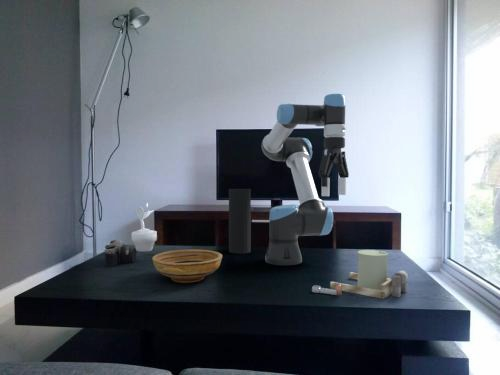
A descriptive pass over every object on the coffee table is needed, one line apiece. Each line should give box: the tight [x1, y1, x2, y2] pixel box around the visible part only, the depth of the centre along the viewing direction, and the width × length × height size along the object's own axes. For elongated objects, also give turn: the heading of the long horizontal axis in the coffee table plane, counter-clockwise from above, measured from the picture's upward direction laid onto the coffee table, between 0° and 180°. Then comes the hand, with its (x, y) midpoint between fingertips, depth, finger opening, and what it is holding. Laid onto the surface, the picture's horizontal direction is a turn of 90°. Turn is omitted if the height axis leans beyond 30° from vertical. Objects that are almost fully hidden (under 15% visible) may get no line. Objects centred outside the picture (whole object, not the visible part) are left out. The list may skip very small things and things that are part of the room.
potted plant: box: [131, 202, 158, 253], centre depth 175 cm, size 13×12×25 cm
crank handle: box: [311, 284, 343, 296], centre depth 113 cm, size 9×2×3 cm, turn 62°
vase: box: [228, 188, 252, 255], centre depth 174 cm, size 10×10×30 cm
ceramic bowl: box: [151, 249, 223, 284], centre depth 130 cm, size 30×24×8 cm
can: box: [356, 249, 389, 291], centre depth 118 cm, size 9×9×12 cm
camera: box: [103, 239, 137, 268], centre depth 151 cm, size 16×10×10 cm, turn 1°
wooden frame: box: [329, 270, 409, 300], centre depth 118 cm, size 21×16×7 cm
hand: (334, 195), depth 136 cm, fingers open, 13 cm apart
